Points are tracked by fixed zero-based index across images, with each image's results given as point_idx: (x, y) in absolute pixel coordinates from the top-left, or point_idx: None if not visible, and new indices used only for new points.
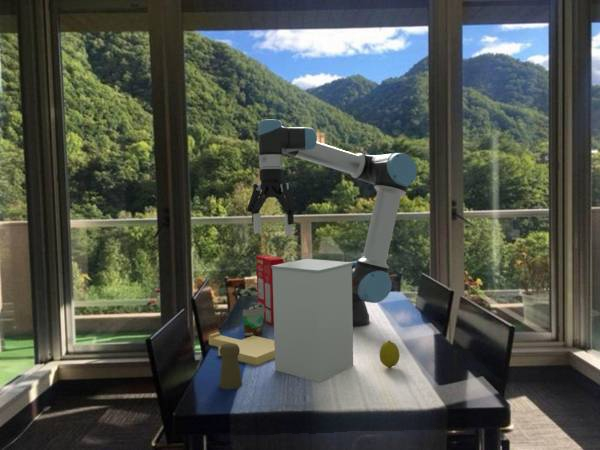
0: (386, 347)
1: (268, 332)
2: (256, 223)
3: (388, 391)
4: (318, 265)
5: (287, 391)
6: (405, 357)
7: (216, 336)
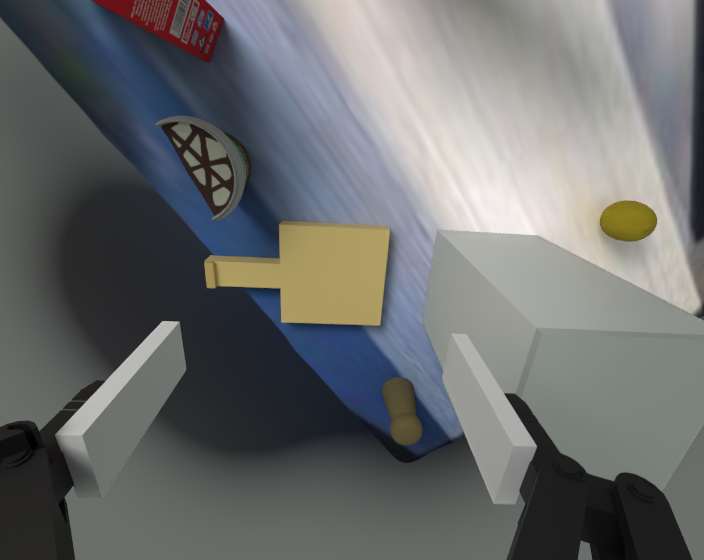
0: (637, 239)
1: (248, 128)
2: (150, 409)
3: None
4: (639, 434)
5: None
6: (629, 135)
7: (216, 273)
